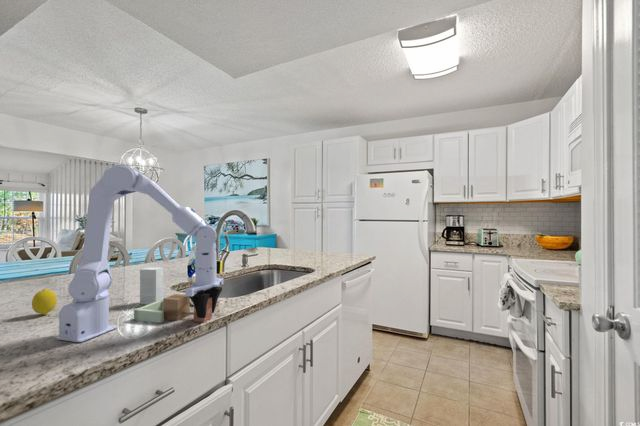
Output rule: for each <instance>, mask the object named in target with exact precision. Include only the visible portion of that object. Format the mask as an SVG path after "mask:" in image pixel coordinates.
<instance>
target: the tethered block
mask: <svg viewBox="0 0 640 426" xmlns="http://www.w3.org/2000/svg"><path fill="white" fill-rule="evenodd" d="M163 311H164V321H165V320H166V321H177V322H178V321H180V320H182V319H184V318H186V317H189V316H190V315H193V322H196V323H198V322H199V323H206V322H207V321H210V320H211V319H212V318H213V313H212V297H209V298H208V302H207V309H206V316H205V318H198V317H197V313H196V309H195V306H194V305H193V311H191V303H190V297H189V296H186V294H183V293H182V294H181V293H180V294H178V293H175V294H172V295H170V296H167V297H164V298H163Z"/></svg>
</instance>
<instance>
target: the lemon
mask: <svg viewBox="0 0 640 426" xmlns="http://www.w3.org/2000/svg"><path fill="white" fill-rule="evenodd" d="M57 303H58V298H57V295H56V293H55V292H54V291H53V290H51V289H47V288H43V289H41V290H40V291H38V292H36V293H35V294H34V296H33V297H32V300H31V307H32V310H33V311H34V312H35V313H36V314H40V315H42V316H47V314H48V313H50V312H51V311H53V310H54V309H55V308H56V306H57Z"/></svg>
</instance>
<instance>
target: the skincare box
mask: <svg viewBox="0 0 640 426" xmlns="http://www.w3.org/2000/svg"><path fill="white" fill-rule="evenodd" d="M164 296H165V295H164V267H144V268H141V269H139V305H149V304H151V303H154V302H157V301H160V300H163V298H165V297H164Z"/></svg>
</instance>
